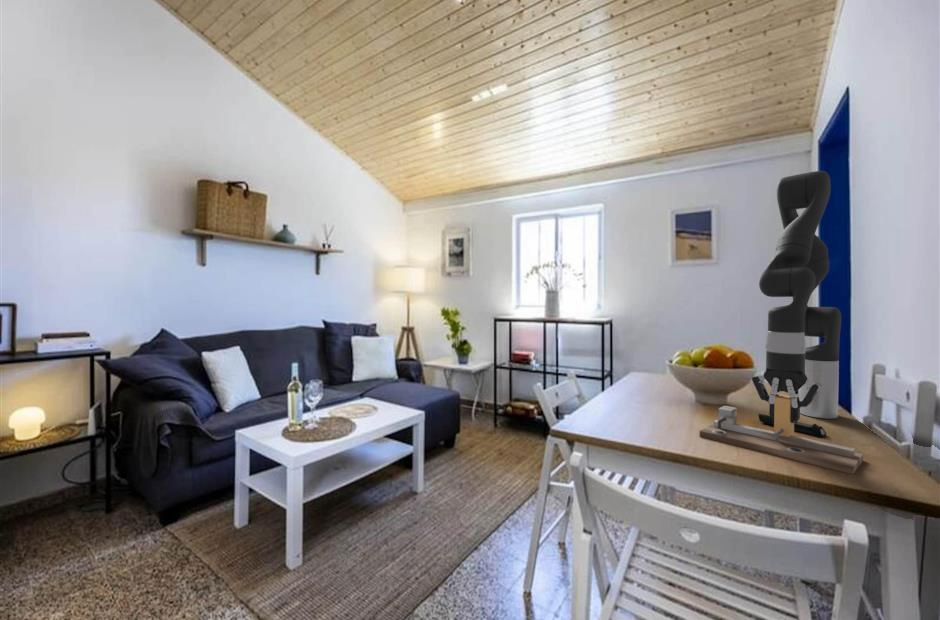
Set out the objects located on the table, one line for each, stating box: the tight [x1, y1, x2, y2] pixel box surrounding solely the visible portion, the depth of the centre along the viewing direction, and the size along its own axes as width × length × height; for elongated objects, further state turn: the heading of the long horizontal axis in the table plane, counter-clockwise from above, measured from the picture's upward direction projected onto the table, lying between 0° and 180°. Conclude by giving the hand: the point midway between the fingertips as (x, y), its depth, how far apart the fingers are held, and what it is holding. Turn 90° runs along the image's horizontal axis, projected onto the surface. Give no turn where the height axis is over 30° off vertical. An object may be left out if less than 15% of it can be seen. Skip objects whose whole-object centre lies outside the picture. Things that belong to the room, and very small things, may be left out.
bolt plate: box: [699, 405, 864, 475], centre depth 100 cm, size 11×30×7 cm, turn 39°
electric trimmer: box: [758, 413, 827, 438], centre depth 113 cm, size 4×15×3 cm, turn 32°
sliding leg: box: [773, 394, 795, 441], centre depth 99 cm, size 8×3×10 cm, turn 129°
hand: (784, 420), depth 100 cm, fingers closed on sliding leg, 3 cm apart
